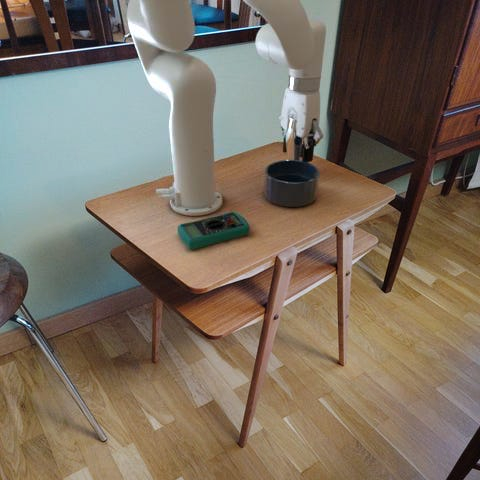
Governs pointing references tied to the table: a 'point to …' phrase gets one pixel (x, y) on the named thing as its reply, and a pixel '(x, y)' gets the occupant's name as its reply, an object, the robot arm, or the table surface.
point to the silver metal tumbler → (294, 141)
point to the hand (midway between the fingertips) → (297, 156)
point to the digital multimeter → (213, 230)
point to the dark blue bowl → (291, 183)
